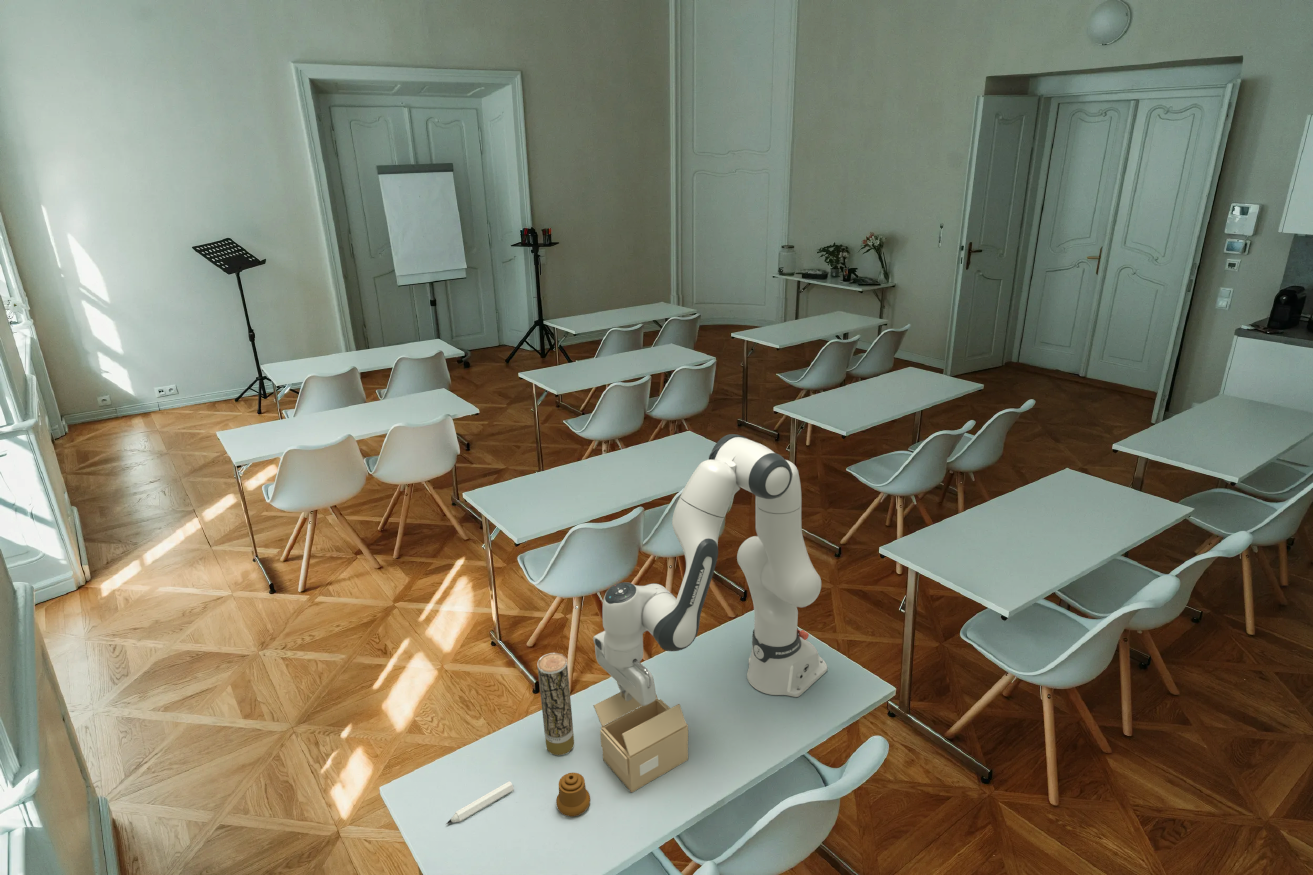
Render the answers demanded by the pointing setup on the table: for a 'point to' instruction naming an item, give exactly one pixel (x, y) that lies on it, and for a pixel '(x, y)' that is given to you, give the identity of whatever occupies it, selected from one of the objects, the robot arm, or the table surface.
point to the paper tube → (556, 703)
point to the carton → (649, 759)
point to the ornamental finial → (572, 795)
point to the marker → (482, 802)
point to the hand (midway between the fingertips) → (626, 697)
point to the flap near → (654, 729)
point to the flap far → (614, 708)
